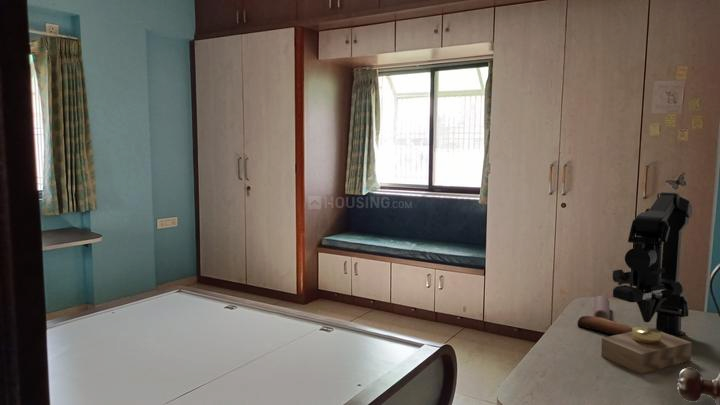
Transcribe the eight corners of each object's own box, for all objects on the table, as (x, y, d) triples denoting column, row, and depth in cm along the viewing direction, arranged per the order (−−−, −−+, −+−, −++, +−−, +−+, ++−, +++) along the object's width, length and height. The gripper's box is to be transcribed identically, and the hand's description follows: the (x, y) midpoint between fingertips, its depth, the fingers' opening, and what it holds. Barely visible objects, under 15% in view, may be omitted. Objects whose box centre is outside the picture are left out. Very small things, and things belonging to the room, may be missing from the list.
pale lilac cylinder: (610, 311, 159) (610, 296, 175) (594, 308, 161) (595, 293, 177) (608, 325, 160) (608, 309, 176) (592, 322, 162) (593, 306, 178)
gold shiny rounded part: (643, 349, 138) (644, 325, 138) (665, 359, 132) (666, 333, 131) (625, 354, 136) (626, 328, 135) (647, 363, 130) (648, 337, 129)
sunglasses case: (649, 336, 149) (644, 320, 146) (639, 353, 146) (633, 336, 143) (591, 320, 164) (586, 305, 161) (580, 335, 160) (575, 320, 158)
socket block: (649, 344, 143) (649, 327, 142) (690, 360, 132) (691, 342, 131) (601, 355, 136) (601, 338, 136) (640, 373, 125) (641, 354, 125)
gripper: (646, 254, 142) (644, 308, 144) (596, 261, 135) (595, 317, 137) (684, 262, 132) (682, 320, 134) (632, 270, 125) (630, 331, 127)
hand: (646, 321), depth 133 cm, fingers closed
